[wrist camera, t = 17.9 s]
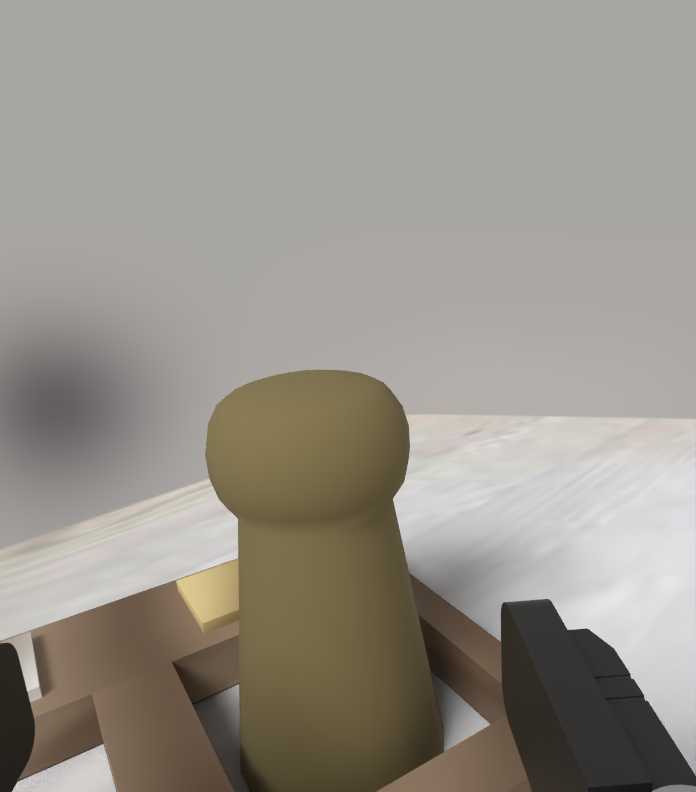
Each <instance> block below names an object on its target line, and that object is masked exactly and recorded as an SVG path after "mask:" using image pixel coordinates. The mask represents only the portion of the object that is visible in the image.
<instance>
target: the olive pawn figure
mask: <svg viewBox="0 0 696 792" xmlns="http://www.w3.org/2000/svg"><path fill="white" fill-rule="evenodd" d="M409 450H410V441H409V425H408V422H407V419H406V416H405V413H404V410H403V407H402V405H401V404H400V402H399V401H398V400H397V398H396V397H395V396H394V394H393V393H392V391H391V390H390V389H389V388H388V387H387V386H386V385H385V384H384V383H383V382H381V381H379V380H377V379H375V378H372V377H370V376H367V375H364V374H361V373H356V372H350V371H339V370H338V371H337V370H305V371H296V372H289V373H284V374H279V375H275V376H271V377H267V378H263V379H260V380H257V381H254V382H251V383H248V384H245V385H244V386H241V387H239V388H237V389H235V390H234V391H233V392H231V393H230V394H229V395H227V396H226V397H225V398H224V399H223V400H222V401H221V402H220V403H218V404H217V405H216V408H215V410H214V412H213V414H212V417H211V419H210V421H209V423H208V432H207V442H206V454H205V457H206V462H207V468H208V473H209V478H210V480H211V483H212V485H213V487H214V489H215V491H216V494H217V496H218V498H219V499H220V501H221V502H222V503H223V504H224V505H225V506H226V507H227V508H228V510H230V511H231V512H232V513H233V514H234V515H235V516H236V517H237V518H238V559H239V695H240V768H241V774H242V776H243V778H244V780H245V782H246V784H247V786H248V788H249V791H250V792H376V791H378V790H380V789H382V788H383V787H385V786H387V785H388V784H390V783H392V782H394V781H395V780H397V779H399V778H400V777H402V776H404V775H406V774H407V773H409V772H411V771H412V770H414V769H416V768H418V767H419V766H421V765H423V764H425V763H426V762H428V761H430V760H431V759H433V758H435V757H437V756H438V755H440V754H442V753H443V726H442V722H441V717H440V713H439V708H438V703H437V699H436V694H435V690H434V685H433V681H432V676H431V671H430V667H429V662H428V658H427V653H426V649H425V644H424V640H423V635H422V630H421V626H420V621H419V617H418V612H417V608H416V603H415V598H414V594H413V589H412V585H411V580H410V576H409V571H408V566H407V562H406V557H405V553H404V548H403V544H402V539H401V535H400V530H399V525H398V521H397V516H396V512H395V507H394V503H393V498H394V496H395V495H396V493H397V492H398V490H399V489H400V487H401V486H402V484H403V483H404V480H405V475H406V470H407V464H408V459H409Z"/></svg>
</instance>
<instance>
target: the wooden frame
mask: <svg viewBox="0 0 696 792" xmlns="http://www.w3.org/2000/svg"><path fill="white" fill-rule="evenodd" d="M409 576H410V580H411V585H412V589H413V594H414V598H415V603H416V608H417V612H418V617H419V621H420V626H421V630H422V635H423V640H424V644H425V649H426V653H427V658H428V662H429V667H430V668H431V669H432V670H433V671H434V672H435V673H436V674H437V675H438V676H439V677H440V678H441V679H442V680H443V681H445V682H446V683H447V684H448V685H449V686H450V687H451V688H452V689H453V690H454V691H455V692H456V693H458V694H459V695H460V696H461V697H462V698H463V699H464V700H465V701H466V702H467V703H468V704H469V705H470V706H472V707H473V708H474V709H475V710H476V711H477V712H478V713H479V714H480V715H481V716H482V717H483V718H485V719H486V720H487V721H488V722H489V723H490V724H491V725H490V726H488V727H486V728H485V729H483V730H481V731H479V732H478V733H476V734H474V735H473V736H471V737H469V738H467V739H466V740H464V741H462V742H461V743H459V744H457V745H455V746H454V747H452V748H450V749H449V750H447V751H445V752H443V753H442V754H440V755H438V756H437V757H435V758H433V759H431V760H430V761H428V762H426V763H425V764H423V765H421V766H419V767H418V768H416V769H414V770H412V771H411V772H409V773H407V774H406V775H404V776H402V777H400V778H399V779H397V780H395V781H394V782H392V783H390V784H388V785H387V786H385V787H383V788H382V789H380V790H378V791H376V792H532V790H531V787H530V784H529V781H528V778H527V775H526V772H525V769H524V766H523V763H522V760H521V757H520V755H519V752H518V749H517V746H516V743H515V740H514V737H513V734H512V731H511V728H510V725H509V722H508V719H507V715H506V710H505V705H504V699H503V691H502V664H501V642H500V641H498V640H497V639H496V638H494V637H493V636H492V635H490V634H489V633H488V632H486V631H485V630H484V629H483V628H481V627H480V626H479V625H477V624H476V623H475V622H473V621H472V620H471V619H469V618H468V617H467V616H465V615H464V614H463V613H461V612H460V611H459V610H457V609H456V608H455V607H453V606H452V605H451V604H449V603H448V602H447V601H445V600H444V599H443V598H441V597H440V596H439V595H437V594H436V593H435V592H433V591H432V590H431V589H429V588H428V587H427V586H425V585H424V584H423V583H422V582H420V581H419V580H418V579H416V578H415V577H414V576H412V575H411V574H410V573H409ZM0 643H11V644H12V645H13V646H14V647H15V649H16V651H17V653H18V656H19V660H20V664H21V668H22V672H23V676H24V680H25V684H26V688H27V692H28V696H29V700H30V704H31V708H32V712H33V716H34V721H35V738H34V745H33V749H32V753H31V756H30V758H29V761H28V763H27V765H26V767H25V769H24V770H23V772H22V774H21V776H20V778H19V779H18V780H20V779H23V778H25V777H27V776H30V775H32V774H34V773H36V772H39V771H41V770H43V769H45V768H48V767H50V766H52V765H54V764H57V763H59V762H61V761H64V760H66V759H68V758H70V757H73V756H75V755H77V754H79V753H82V752H84V751H86V750H88V749H91V748H93V747H95V746H98V745H100V744H102V743H104V746H105V750H106V754H107V758H108V761H109V765H110V769H111V772H112V776H113V780H114V783H115V787H116V791H117V792H234V790H233V788H232V786H231V784H230V781H229V779H228V777H227V775H226V773H225V771H224V769H223V767H222V765H221V763H220V761H219V759H218V757H217V755H216V753H215V750H214V748H213V746H212V744H211V742H210V740H209V738H208V736H207V734H206V732H205V730H204V728H203V726H202V724H201V722H200V719H199V717H198V715H197V713H196V711H195V709H194V707H193V705H192V704H193V703H195V702H197V701H199V700H202V699H204V698H206V697H209V696H211V695H213V694H215V693H218V692H220V691H222V690H224V689H227V688H229V687H231V686H233V685H236V684H238V683H239V559H235V560H232V561H229V562H226V563H223V564H220V565H217V566H215V567H212V568H209V569H206V570H203V571H200V572H197V573H194V574H192V575H189V576H186V577H183V578H180V579H177V580H174V581H171V582H169V583H166V584H163V585H160V586H157V587H154V588H151V589H148V590H146V591H143V592H140V593H137V594H134V595H131V596H128V597H125V598H123V599H120V600H117V601H114V602H111V603H108V604H105V605H102V606H99V607H97V608H94V609H91V610H88V611H85V612H82V613H79V614H76V615H74V616H71V617H68V618H65V619H62V620H59V621H56V622H53V623H51V624H48V625H45V626H42V627H39V628H36V629H33V630H30V631H28V632H25V633H22V634H19V635H16V636H13V637H10V638H7V639H5V640H2V641H0Z"/></svg>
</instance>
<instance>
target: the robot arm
mask: <svg viewBox="0 0 696 792" xmlns="http://www.w3.org/2000/svg"><path fill="white" fill-rule="evenodd" d="M501 664H502V691H503V699H504V705H505V710H506V715H507V719H508V722H509V725H510V728H511V731H512V734H513V737H514V740H515V743H516V746H517V749H518V752H519V755H520V757H521V760H522V763H523V766H524V769H525V772H526V775H527V778H528V781H529V784H530V787H531V790H532V792H696V776H695V774H694V772H693V771H692V769H691V768H690V766H689V765H688V763H687V762H686V760H685V758H684V757H683V755H682V754H681V752H680V751H679V749H678V748H677V746H676V744H675V743H674V741H673V740H672V738H671V737H670V735H669V734H668V732H667V730H666V729H665V727H664V726H663V724H662V723H661V721H660V720H659V718H658V716H657V715H656V713H655V712H654V710H653V709H652V707H651V706H650V704H649V702H648V701H645V699H644V695H643V693H642V691H641V690H640V688H639V687H638V685H637V684H636V682H635V681H634V679H631V676H630V673H629V671H628V670H627V668H626V667H625V665H624V663H623V662H622V660H621V659H620V657H619V656H618V654H617V653H616V651H615V649H614V648H612V647H611V646H610V645H608V644H607V643H606V642H604V641H603V640H602V639H600V638H599V637H598V636H597V635H595V634H594V633H593V632H591V631H590V630H589V629H577V630H567V628H566V627H565V625H564V623H563V621H562V620H561V618H560V616H559V614H558V612H557V611H556V609H555V607H554V605H553V604H552V602H551V601H550V600H549V599H543V600H530V601H517V602H504V603H503V604H502V608H501ZM34 738H35V721H34V716H33V712H32V708H31V704H30V700H29V696H28V692H27V688H26V684H25V680H24V676H23V672H22V668H21V664H20V660H19V656H18V653H17V651H16V649H15V647H14V646H13V645H12V644H11V643H0V792H12V790H13V788H14V787H15V785H16V783H17V781H18V779H19V778H20V776H21V774H22V772H23V770H24V769H25V767H26V765H27V763H28V761H29V758H30V756H31V753H32V749H33V745H34Z"/></svg>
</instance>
